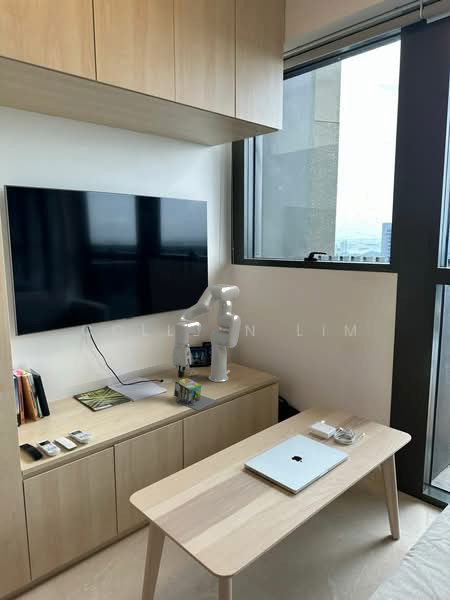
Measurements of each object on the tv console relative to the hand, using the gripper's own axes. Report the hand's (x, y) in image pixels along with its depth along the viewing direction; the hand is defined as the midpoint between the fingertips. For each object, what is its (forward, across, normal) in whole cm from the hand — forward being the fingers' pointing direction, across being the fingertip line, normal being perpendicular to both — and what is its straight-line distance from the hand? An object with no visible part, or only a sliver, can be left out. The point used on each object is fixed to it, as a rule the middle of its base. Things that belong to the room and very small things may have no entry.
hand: (181, 377), depth 222 cm
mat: (+11, -12, 0) cm, 16 cm away
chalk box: (+5, -1, +1) cm, 5 cm away
